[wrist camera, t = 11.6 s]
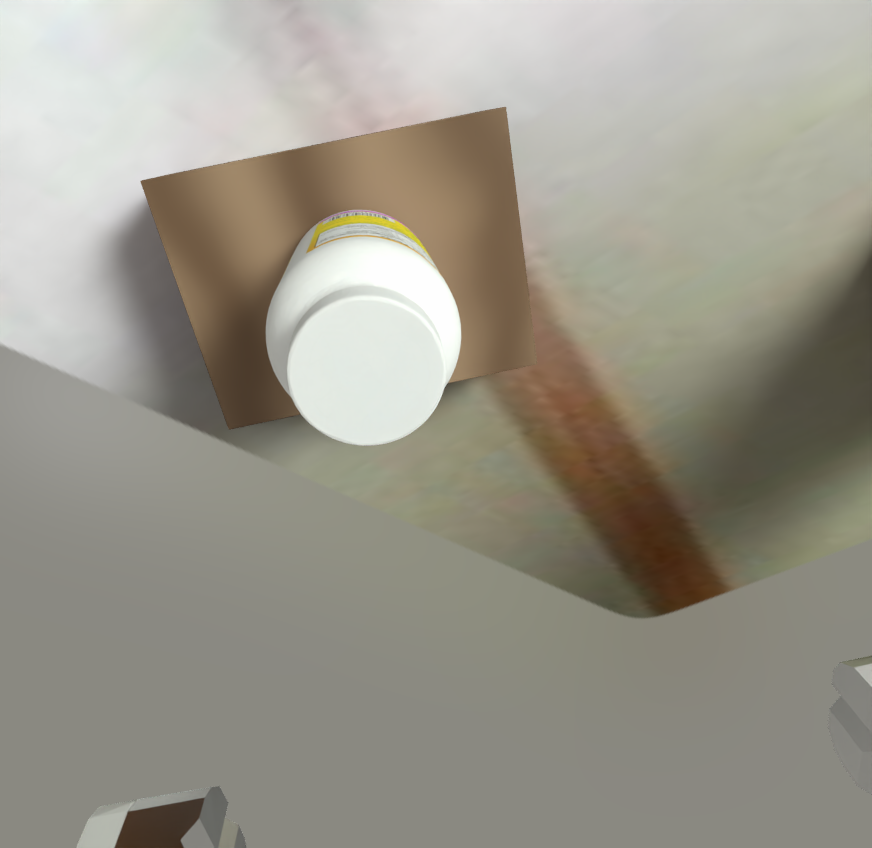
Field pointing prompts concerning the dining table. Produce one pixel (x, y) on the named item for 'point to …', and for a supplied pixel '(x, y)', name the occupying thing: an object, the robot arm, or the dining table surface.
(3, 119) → the dining table surface
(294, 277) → the supplement bottle
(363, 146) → the walnut stand
